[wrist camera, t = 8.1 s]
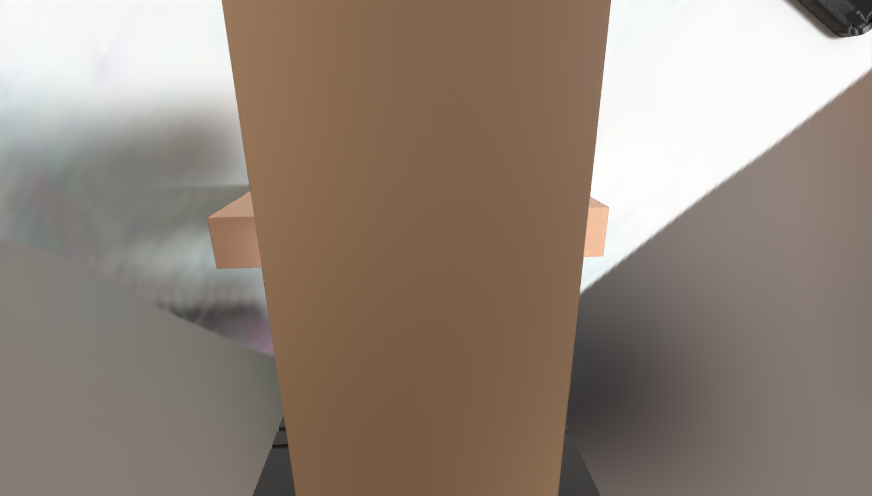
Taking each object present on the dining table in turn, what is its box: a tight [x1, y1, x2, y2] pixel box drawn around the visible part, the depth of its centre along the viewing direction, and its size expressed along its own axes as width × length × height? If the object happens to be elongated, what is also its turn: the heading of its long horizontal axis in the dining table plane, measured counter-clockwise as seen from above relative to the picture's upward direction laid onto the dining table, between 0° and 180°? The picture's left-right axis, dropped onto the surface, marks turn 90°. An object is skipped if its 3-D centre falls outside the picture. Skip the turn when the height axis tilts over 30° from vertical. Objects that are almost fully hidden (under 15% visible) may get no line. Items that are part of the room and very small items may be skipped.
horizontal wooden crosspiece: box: [207, 191, 609, 269], centre depth 24 cm, size 18×2×8 cm, turn 91°
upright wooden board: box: [222, 0, 611, 496], centre depth 12 cm, size 2×14×14 cm, turn 0°
